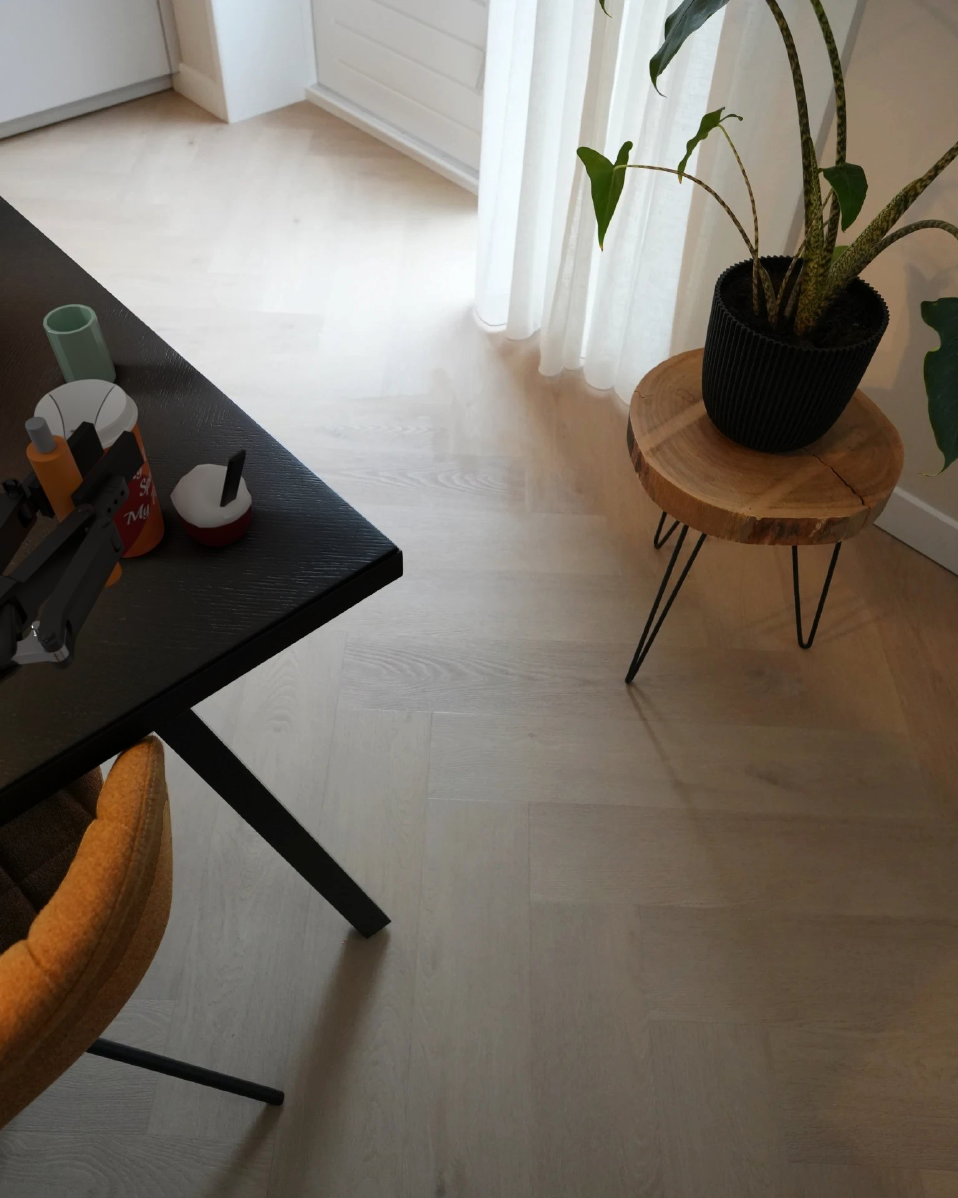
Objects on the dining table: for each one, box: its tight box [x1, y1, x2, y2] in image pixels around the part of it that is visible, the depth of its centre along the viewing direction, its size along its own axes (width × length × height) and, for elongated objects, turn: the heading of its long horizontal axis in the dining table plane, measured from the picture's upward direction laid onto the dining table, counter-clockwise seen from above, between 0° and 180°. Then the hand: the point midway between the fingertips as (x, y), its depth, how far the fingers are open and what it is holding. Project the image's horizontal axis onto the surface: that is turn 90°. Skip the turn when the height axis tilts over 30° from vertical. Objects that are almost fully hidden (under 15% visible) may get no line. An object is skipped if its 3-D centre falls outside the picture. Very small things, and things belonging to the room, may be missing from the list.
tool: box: [24, 416, 123, 588], centre depth 63 cm, size 2×2×14 cm
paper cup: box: [33, 379, 165, 559], centre depth 78 cm, size 8×8×14 cm
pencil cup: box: [42, 303, 117, 384], centre depth 94 cm, size 5×5×7 cm
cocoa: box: [169, 448, 253, 548], centre depth 79 cm, size 10×6×12 cm, turn 28°
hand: (113, 442), depth 66 cm, fingers closed on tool, 2 cm apart
